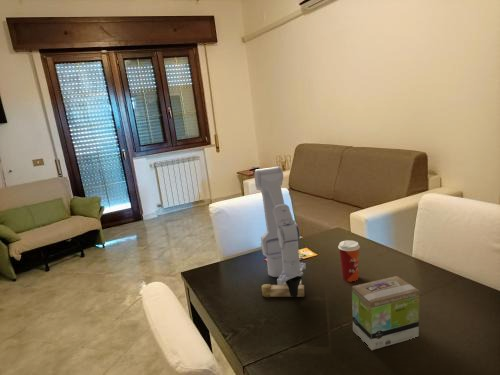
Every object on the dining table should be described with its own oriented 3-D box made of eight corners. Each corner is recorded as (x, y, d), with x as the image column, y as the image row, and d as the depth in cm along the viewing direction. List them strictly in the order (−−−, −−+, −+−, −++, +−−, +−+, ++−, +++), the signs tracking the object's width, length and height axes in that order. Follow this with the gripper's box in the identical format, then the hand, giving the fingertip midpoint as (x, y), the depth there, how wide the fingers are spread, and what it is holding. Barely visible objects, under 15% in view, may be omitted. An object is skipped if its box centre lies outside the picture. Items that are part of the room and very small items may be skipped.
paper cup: (356, 285, 131) (354, 248, 128) (336, 280, 136) (334, 245, 133) (364, 276, 137) (363, 241, 134) (345, 272, 142) (343, 238, 139)
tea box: (372, 352, 97) (370, 302, 93) (352, 331, 106) (349, 285, 103) (420, 338, 100) (420, 289, 97) (396, 318, 110) (395, 273, 106)
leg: (261, 297, 128) (260, 288, 127) (263, 292, 131) (262, 283, 131) (304, 297, 125) (303, 288, 124) (304, 292, 128) (303, 283, 128)
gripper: (288, 269, 114) (291, 308, 117) (312, 253, 125) (315, 289, 127) (270, 265, 119) (274, 303, 121) (294, 249, 129) (298, 284, 132)
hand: (294, 295), depth 125 cm, fingers closed, pressing on leg
